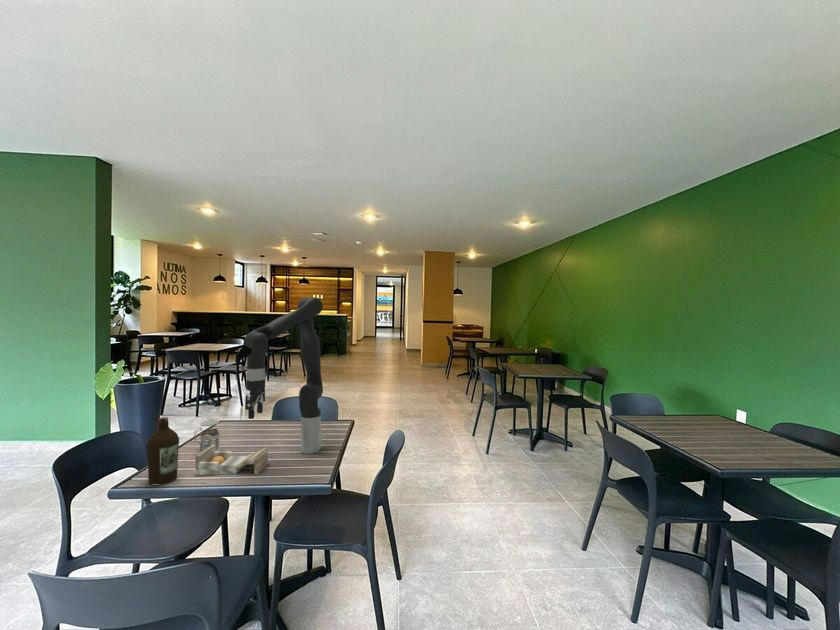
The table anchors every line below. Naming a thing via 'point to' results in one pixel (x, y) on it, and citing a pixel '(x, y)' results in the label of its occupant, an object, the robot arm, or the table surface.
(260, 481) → the table surface
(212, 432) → the french press
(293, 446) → the table surface
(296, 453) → the table surface
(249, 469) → the table surface
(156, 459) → the olive oil
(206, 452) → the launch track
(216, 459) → the ball
